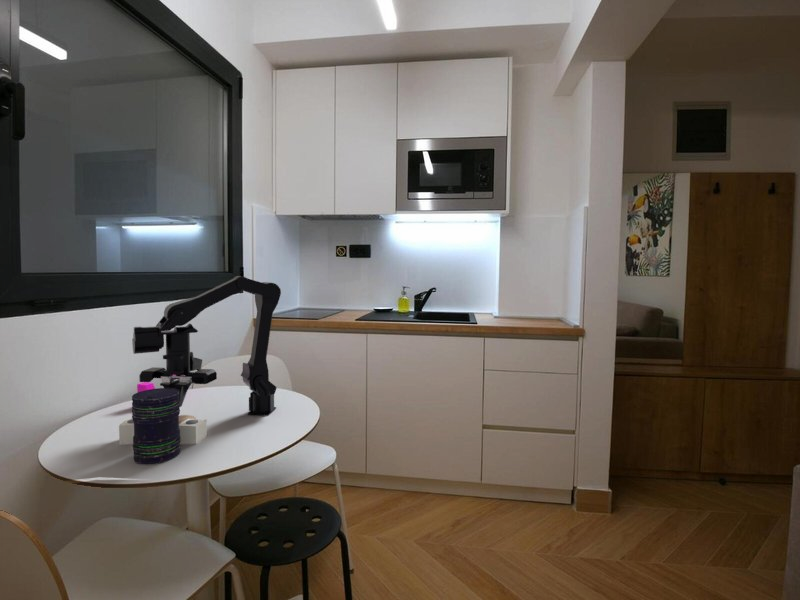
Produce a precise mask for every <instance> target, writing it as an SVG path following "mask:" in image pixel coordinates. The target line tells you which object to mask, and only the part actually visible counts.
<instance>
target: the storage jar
mask: <svg viewBox="0 0 800 600" xmlns="http://www.w3.org/2000/svg"><path fill="white" fill-rule="evenodd" d="M131 401H132V402H131V405H132V406H131V413H132V416H131V419H133V421H134V436H133V444H132V452H133V462H134V463H135V464H136V465H142V466H144V465H145V466H150V465H158V464H163V463H166V462H170V461H171V460H173V459H175V458H177V457H178V456H179V455H180V454H181V448H180V447H181V444H180V442H181V436H180V429H179V416H180V414H181V413H180V412H181V410H180V408H181V407H180V401H179V390H178V389H174V388H164V387H160V388H155V389H150V390H145V391H141V392H138V393H137V392H135V393H134V394H132V396H131Z"/></svg>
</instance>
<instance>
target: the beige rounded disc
mask: <svg viewBox="0 0 800 600" xmlns="http://www.w3.org/2000/svg"><path fill="white" fill-rule="evenodd" d="M187 419H197V417H196V416H194V415H188V414H181V415H180V414H179V424H180V423H182V422H183V421H185V420H187Z"/></svg>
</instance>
